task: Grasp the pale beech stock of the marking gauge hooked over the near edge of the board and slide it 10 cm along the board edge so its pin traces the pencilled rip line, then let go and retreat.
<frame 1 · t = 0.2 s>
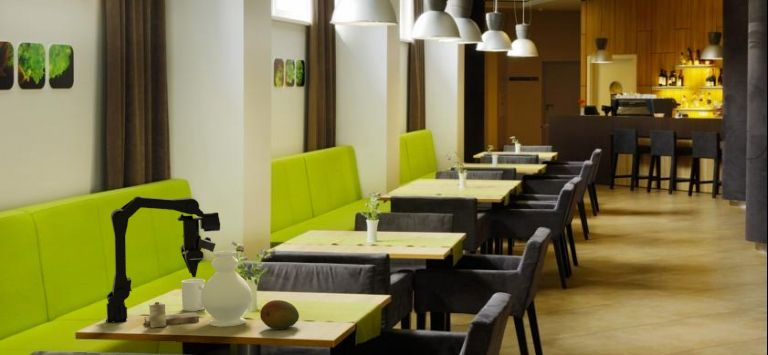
hand: (192, 275, 405), 14 cm above the table, fingers open, 9 cm apart
fruit: (280, 329, 379), on the table
mug: (197, 310, 414), on the table
decorative vase: (227, 323, 390), on the table
board: (171, 322, 393), on the table
gauge: (156, 312, 389), point 4 cm above the table, slide at 0.0 cm
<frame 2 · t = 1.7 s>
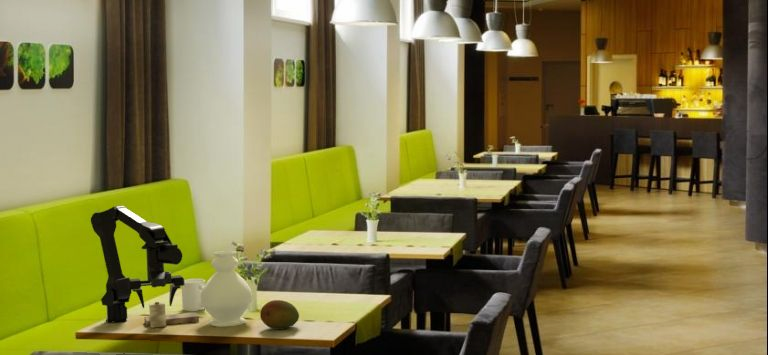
hand: (157, 306, 386), 7 cm above the table, fingers open, 9 cm apart
nothing on the table moved.
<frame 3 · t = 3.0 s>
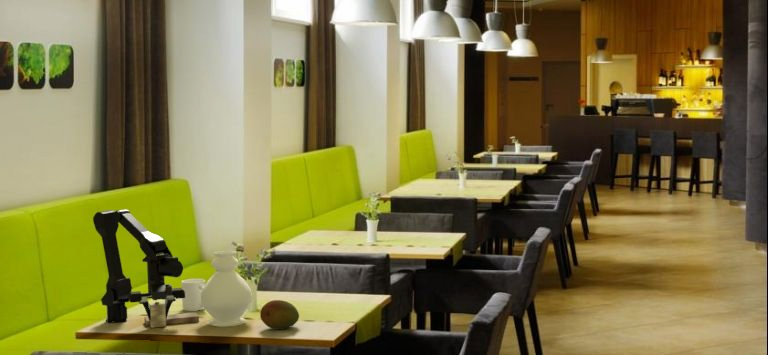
hand: (157, 319, 386), 3 cm above the table, fingers closed on gauge, 5 cm apart
gauge: (156, 312, 389), point 4 cm above the table, slide at 0.0 cm, touching gripper
everything else where it was.
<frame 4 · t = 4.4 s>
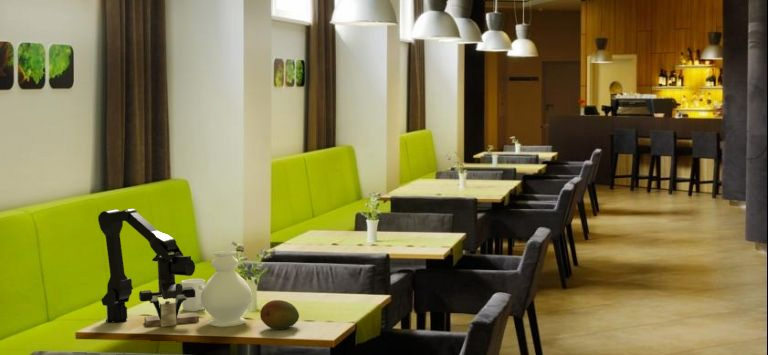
hand: (168, 318, 387), 3 cm above the table, fingers closed on gauge, 5 cm apart
gauge: (166, 311, 390), point 4 cm above the table, slide at 3.6 cm, touching gripper
everything else where it was.
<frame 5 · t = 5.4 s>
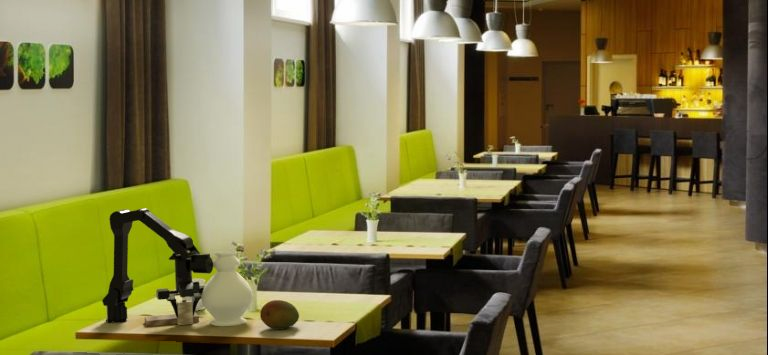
hand: (185, 316, 389), 3 cm above the table, fingers closed on gauge, 5 cm apart
decorative vase: (227, 322, 390), on the table, touching arm, gripper
gauge: (183, 309, 392), point 4 cm above the table, slide at 9.4 cm, touching gripper
everything else where it was.
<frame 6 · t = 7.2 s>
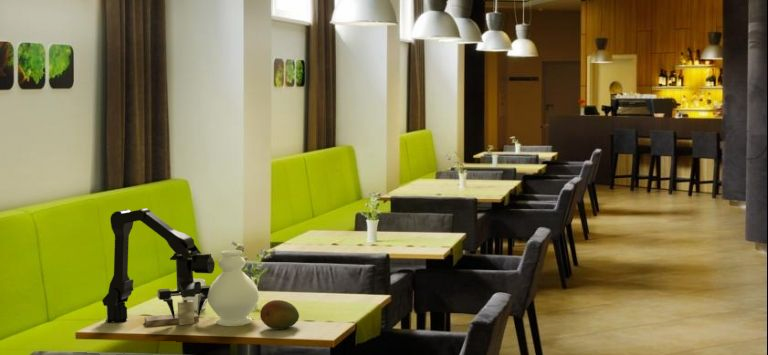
hand: (186, 316, 389), 3 cm above the table, fingers open, 8 cm apart
decorative vase: (234, 322, 391), on the table, touching gripper
gauge: (184, 309, 392), point 4 cm above the table, slide at 9.8 cm
everything else where it was.
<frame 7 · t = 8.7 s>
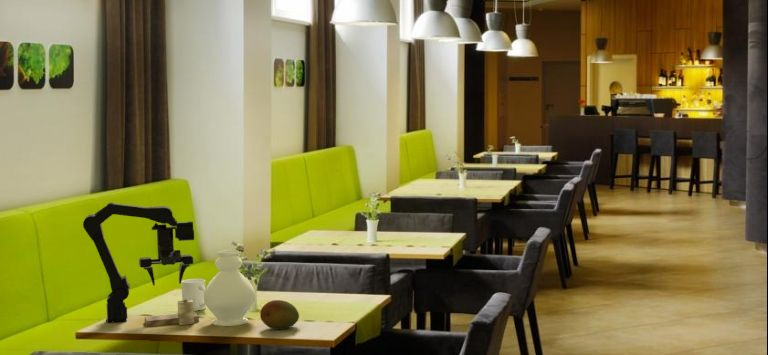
hand: (166, 284, 400), 12 cm above the table, fingers open, 9 cm apart
decorative vase: (230, 322, 391), on the table
everything else where it was.
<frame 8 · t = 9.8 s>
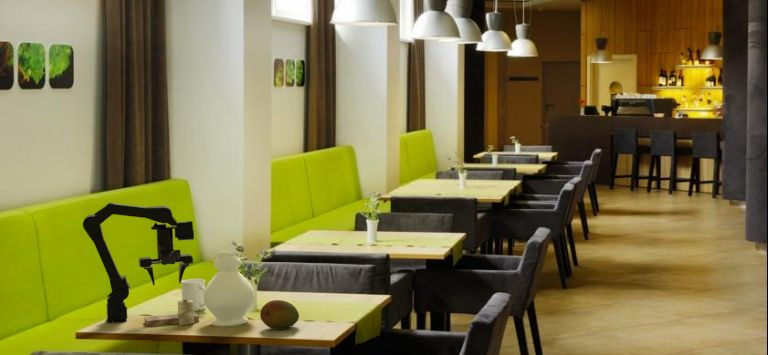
hand: (166, 284, 400), 12 cm above the table, fingers open, 9 cm apart
nothing on the table moved.
at the end: gauge slide at 9.8 cm; the gripper is holding nothing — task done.
